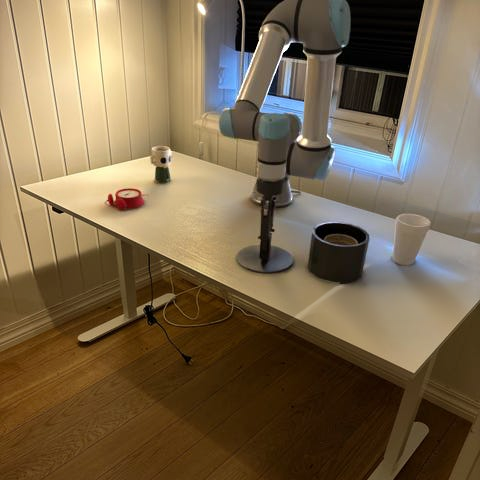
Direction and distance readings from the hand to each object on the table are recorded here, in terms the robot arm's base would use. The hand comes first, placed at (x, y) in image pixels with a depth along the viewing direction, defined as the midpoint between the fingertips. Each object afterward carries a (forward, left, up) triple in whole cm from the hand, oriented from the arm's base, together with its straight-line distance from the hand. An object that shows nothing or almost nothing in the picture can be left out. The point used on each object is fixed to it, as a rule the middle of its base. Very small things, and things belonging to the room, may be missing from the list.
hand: (264, 255), depth 142 cm
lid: (0, 0, -1) cm, 1 cm away
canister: (-10, +18, -2) cm, 21 cm away
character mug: (-24, -71, -2) cm, 75 cm away
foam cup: (-30, +30, -2) cm, 42 cm away
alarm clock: (+2, -62, -2) cm, 62 cm away
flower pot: (-10, +18, -2) cm, 21 cm away
